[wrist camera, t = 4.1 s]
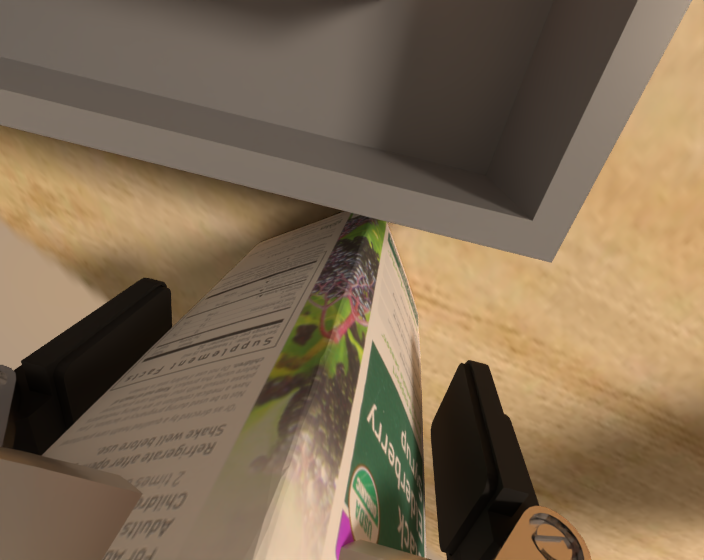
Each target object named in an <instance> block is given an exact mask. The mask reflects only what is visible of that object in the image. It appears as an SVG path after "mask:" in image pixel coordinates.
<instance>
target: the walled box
mask: <svg viewBox="0 0 704 560" xmlns="http://www.w3.org/2000/svg"><path fill="white" fill-rule="evenodd" d="M691 1H692V0H0V125H3V126H7V127H11V128H15V129H19V130H23V131H27V132H31V133H35V134H39V135H43V136H47V137H51V138H55V139H59V140H63V141H67V142H71V143H75V144H79V145H83V146H87V147H91V148H95V149H99V150H103V151H107V152H111V153H115V154H119V155H123V156H127V157H131V158H135V159H139V160H143V161H147V162H151V163H155V164H159V165H163V166H167V167H171V168H175V169H179V170H183V171H187V172H191V173H195V174H199V175H203V176H207V177H211V178H215V179H219V180H223V181H227V182H231V183H235V184H239V185H243V186H247V187H251V188H255V189H259V190H263V191H267V192H271V193H275V194H279V195H283V196H287V197H291V198H295V199H299V200H303V201H307V202H311V203H315V204H319V205H323V206H327V207H331V208H335V209H339V210H343V211H347V212H351V213H355V214H359V215H363V216H367V217H371V218H375V219H379V220H383V221H387V222H391V223H395V224H399V225H403V226H407V227H411V228H415V229H419V230H423V231H427V232H431V233H435V234H439V235H443V236H447V237H451V238H455V239H459V240H463V241H467V242H471V243H475V244H479V245H483V246H487V247H491V248H495V249H499V250H503V251H507V252H511V253H515V254H519V255H523V256H527V257H531V258H535V259H539V260H543V261H547V262H551V263H552V261H553V259H554V257H555V255H556V253H557V252H558V250H559V248H560V246H561V244H562V242H563V240H564V239H565V237H566V235H567V233H568V231H569V229H570V227H571V225H572V224H573V222H574V220H575V218H576V216H577V214H578V212H579V211H580V209H581V207H582V205H583V203H584V201H585V199H586V197H587V196H588V194H589V192H590V190H591V188H592V186H593V184H594V183H595V181H596V179H597V177H598V175H599V173H600V171H601V169H602V168H603V166H604V164H605V162H606V160H607V158H608V156H609V155H610V153H611V151H612V149H613V147H614V145H615V143H616V141H617V140H618V138H619V136H620V134H621V132H622V130H623V128H624V127H625V125H626V123H627V121H628V119H629V117H630V115H631V113H632V112H633V110H634V108H635V106H636V104H637V102H638V100H639V99H640V97H641V95H642V93H643V91H644V89H645V87H646V85H647V84H648V82H649V80H650V78H651V76H652V74H653V72H654V71H655V69H656V67H657V65H658V63H659V61H660V59H661V57H662V56H663V54H664V52H665V50H666V48H667V46H668V44H669V43H670V41H671V39H672V37H673V35H674V33H675V31H676V29H677V28H678V26H679V24H680V22H681V20H682V18H683V16H684V15H685V13H686V11H687V9H688V7H689V5H690V3H691Z"/></svg>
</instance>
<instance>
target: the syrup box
mask: <svg viewBox="0 0 704 560" xmlns="http://www.w3.org/2000/svg"><path fill="white" fill-rule="evenodd" d="M42 456H44V457H49V458H53V459H57V460H61V461H65V462H69V463H74V464H78V465H82V466H86V467H89V468H93V469H97V470H101V471H105V472H109V473H113V474H116V475H120V476H121V477H123V478H124V479H125V480H127V481H128V482H130V483H131V484H132V485H133V486H135V487H136V488H137V489H138V490H139V491H140V492H141V493H143V494H142V496H141V498H140V499H139V501H138V502H137V504H136V506H135V507H134V509H133V510H132V512H131V514H130V515H129V517H128V518H127V520H126V522H125V523H124V525H123V526H122V528H121V530H120V531H119V533H118V535H117V536H116V538H115V539H114V541H113V543H112V544H111V546H110V547H109V549H108V551H107V552H106V554H105V556H104V557H103V559H102V560H339V555H340V550H341V547H342V546H344V545H346V544H348V543H351V542H354V541H357V540H364V541H368V542H371V543H375V544H379V545H383V546H386V547H389V548H393V549H396V550H400V551H403V552H407V553H410V554H413V555H417V556H420V557H424V558H426V530H425V487H424V455H423V421H422V390H421V363H420V341H419V325H418V312H417V308H416V305H415V301H414V298H413V295H412V292H411V289H410V286H409V282H408V279H407V276H406V273H405V270H404V268H403V265H402V262H401V259H400V256H399V254H398V251H397V248H396V245H395V243H394V240H393V237H392V234H391V232H390V229H389V226H388V223H387V221H383V220H379V219H375V218H371V217H367V216H363V215H359V214H355V213H351V212H347V211H344V212H341V213H339V214H336V215H333V216H331V217H328V218H325V219H323V220H320V221H318V222H315V223H312V224H309V225H307V226H304V227H301V228H298V229H296V230H293V231H290V232H287V233H285V234H282V235H279V236H276V237H274V238H271V239H268V240H265V241H263V242H260V243H259V244H257V245H256V246H255V247H254V248H253V249H252V250H251V251H250V252H249V253H248V254H247V255H246V256H245V257H244V258H243V259H242V260H241V261H240V262H239V263H238V264H237V265H236V266H235V267H234V268H233V269H232V270H231V271H229V272H228V273H227V274H226V275H225V276H224V277H223V278H222V279H221V280H220V281H219V282H218V283H217V284H216V285H215V286H214V287H213V288H212V289H211V290H210V291H209V292H208V293H207V294H206V295H205V296H204V297H203V298H202V299H201V300H200V301H199V302H198V303H197V304H196V305H195V306H194V307H193V308H192V309H190V310H189V311H188V312H187V313H186V314H185V315H184V316H183V317H182V318H181V319H180V320H179V321H178V322H177V323H176V324H175V325H174V326H173V327H172V328H171V329H170V330H169V331H168V332H167V333H166V334H165V335H164V336H163V337H162V338H161V339H160V340H159V341H158V342H157V343H156V344H154V345H153V346H152V347H151V348H150V349H149V350H148V351H147V352H146V353H145V354H144V355H143V356H142V357H141V358H140V359H139V360H138V361H137V362H136V363H135V364H134V365H133V366H132V367H131V368H130V369H129V370H128V371H127V372H126V373H125V374H124V375H123V376H122V377H121V378H120V379H119V380H118V381H117V382H116V383H115V384H114V385H113V386H112V387H111V388H110V389H109V390H108V391H107V392H106V393H105V394H104V395H103V396H101V397H100V398H99V399H98V400H97V401H96V402H95V403H94V404H93V405H92V406H91V407H90V408H89V409H88V410H87V411H86V412H85V413H84V414H83V415H82V416H81V417H80V418H79V419H78V420H77V421H76V422H75V423H74V424H73V425H72V426H71V427H70V428H69V429H68V430H67V431H66V432H65V433H64V434H63V435H62V436H61V437H60V438H59V439H58V440H57V441H56V442H55V443H54V444H53V445H52V446H51V447H50V448H49V449H48V450H47V451H46V452H45V453H44V454H43V455H42Z"/></svg>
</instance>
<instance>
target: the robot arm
mask: <svg viewBox="0 0 704 560" xmlns="http://www.w3.org/2000/svg"><path fill="white" fill-rule="evenodd" d="M171 328H172V311H171V291H170V289H169V288H167V286H166V284H165V283H164V282H161V281H157V280H153V279H150V278H143V279H141V280H139V281H138V282H136V283H135V284H133V285H132V286H130V287H129V288H128V289H126V290H125V291H123V292H122V293H120V294H119V295H117V296H116V297H114V298H113V299H111V300H110V301H108V302H107V303H105V304H104V305H103V306H101V307H100V308H98V309H97V310H95V311H94V312H92V313H91V314H90V315H88V316H86V317H85V318H83V319H82V320H81V321H79V322H78V323H76V324H75V325H73V326H72V327H70V328H69V329H67V330H66V331H64V332H63V333H61V334H60V335H58V336H57V337H56V338H54V339H53V340H51V341H50V342H48V343H47V344H45V345H44V346H42V347H41V348H40V349H38V350H36V351H35V352H34V353H32V354H31V355H29V356H28V357H26V358H25V359H23V360H22V361H21V363H22V365H21V366H19V367H18V368H17V369H15V370H14V371H13V370H12V369H11V368H9V367H7V366H4V365H0V560H102V559H103V557H104V556H105V554H106V552H107V551H108V549H109V547H110V546H111V544H112V543H113V541H114V539H115V538H116V536H117V535H118V533H119V531H120V530H121V528H122V526H123V525H124V523H125V522H126V520H127V518H128V517H129V515H130V514H131V512H132V510H133V509H134V507H135V506H136V504H137V502H138V501H139V499H140V498H141V496H142V494H143V493H141V492H140V491H139V490H138V489H137V488H136V487H135V486H133V485H132V484H131V483H130V482H128V481H127V480H125V479H124V478H123V477H121V476H120V475H116V474H113V473H109V472H105V471H101V470H97V469H93V468H89V467H86V466H82V465H78V464H74V463H69V462H65V461H61V460H57V459H53V458H49V457H44V456H42V455H43V454H44V453H45V452H46V451H47V450H48V449H49V448H50V447H51V446H52V445H53V444H54V443H55V442H56V441H57V440H58V439H59V438H60V437H61V436H62V435H63V434H64V433H65V432H66V431H67V430H68V429H69V428H70V427H71V426H72V425H73V424H74V423H75V422H76V421H77V420H78V419H79V418H80V417H81V416H82V415H83V414H84V413H85V412H86V411H87V410H88V409H89V408H90V407H91V406H92V405H93V404H94V403H95V402H96V401H97V400H98V399H99V398H100V397H101V396H103V395H104V394H105V393H106V392H107V391H108V390H109V389H110V388H111V387H112V386H113V385H114V384H115V383H116V382H117V381H118V380H119V379H120V378H121V377H122V376H123V375H124V374H125V373H126V372H127V371H128V370H129V369H130V368H131V367H132V366H133V365H134V364H135V363H136V362H137V361H138V360H139V359H140V358H141V357H142V356H143V355H144V354H145V353H146V352H147V351H148V350H149V349H150V348H151V347H152V346H153V345H154V344H156V343H157V342H158V341H159V340H160V339H161V338H162V337H163V336H164V335H165V334H166V333H167V332H168V331H169V330H170V329H171ZM431 444H432V456H433V469H434V481H435V493H436V506H437V518H438V531H439V543H440V549H441V551H442V552H445V553H446V555H447V560H591V556H590V552H589V550H588V547H587V545H586V543H585V541H584V539H583V538H582V537H581V535H580V534H579V533H578V531H577V530H576V528H575V527H574V526H573V525H571V524H570V523H569V522H568V521H567V520H566V519H565V518H564V517H562V516H561V515H560V514H558V513H557V512H555V511H553V510H551V509H549V508H546V507H541V506H539V504H538V501H537V498H536V495H535V492H534V489H533V486H532V483H531V480H530V477H529V474H528V471H527V468H526V465H525V462H524V459H523V456H522V453H521V450H520V447H519V444H518V441H517V438H516V435H515V432H514V429H513V426H512V423H511V420H510V418H509V417H508V416H507V415H505V414H504V413H503V409H502V406H501V403H500V400H499V397H498V394H497V391H496V387H495V384H494V381H493V378H492V375H491V372H490V369H489V366H488V365H486V364H483V363H479V362H475V361H471V360H468V361H467V362H466V363H465V364H463V363H461V364H460V365H459V366H458V368H457V370H456V373H455V375H454V377H453V379H452V381H451V383H450V385H449V388H448V390H447V392H446V394H445V396H444V398H443V401H442V403H441V405H440V407H439V409H438V411H437V413H436V416H435V418H434V420H433V422H432V426H431ZM339 560H430V559H427V558H424V557H420V556H417V555H413V554H410V553H407V552H403V551H400V550H396V549H393V548H389V547H386V546H383V545H379V544H375V543H371V542H368V541H364V540H357V541H354V542H351V543H348V544H346V545H344V546H342V547H341V550H340V555H339Z"/></svg>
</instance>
